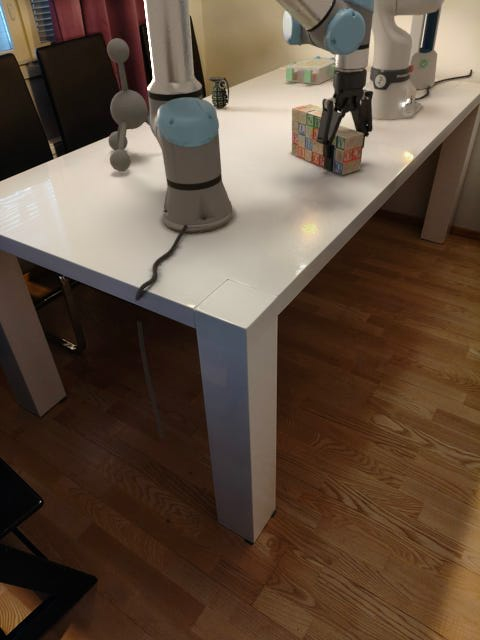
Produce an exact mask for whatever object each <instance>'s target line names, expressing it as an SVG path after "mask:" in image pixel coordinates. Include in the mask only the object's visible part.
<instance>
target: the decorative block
mask: <svg viewBox="0 0 480 640" xmlns="http://www.w3.org/2000/svg"><path fill="white" fill-rule="evenodd" d="M334 60H335V56H333V57H325V56H324V57H323V56H319V55H317V56H315V57H313V58H307V59H304V60H300V61H298V62H297V61H292V62H291V64H290V65H288V67H286V68H285V82H293V83H302V84H303V83H304V84H310V85H311V84H313V85H320V84H322V83H325V82H327V81H329V80H331V79H333V74H334V71H335V69H337V68H335V66H334Z"/></svg>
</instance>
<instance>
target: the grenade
mask: <svg viewBox="0 0 480 640" xmlns="http://www.w3.org/2000/svg"><path fill="white" fill-rule="evenodd" d="M208 81H209V82H212V83H214V85H213V86H212V88H211V90H212V91H211V104H212V105H213V106H214V108H215V109H216V110H217V109H218V110H223V109H225V108H226V107H227V105H228V104H229V102H230V101H229V100H230V85H229V82H228V79H227V78H226V76H211V77H209V79H208ZM226 89H227V90H226Z"/></svg>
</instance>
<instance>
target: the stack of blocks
mask: <svg viewBox="0 0 480 640" xmlns="http://www.w3.org/2000/svg"><path fill="white" fill-rule="evenodd" d="M322 111H323V107H320V106H317V105H315V104H311V103H309V104H304V105H301V106H296V107H293V108H291V154H292V155H294V156H296V157H298V158H300V159H303V160H305V161H308V162H310V163H313V164H316V165H318V166H320V167H322V168H324V157H323V144H321V143H318V142H317V135H318V130H319V125H320V120H321V115H322ZM363 137H364V133H361V132H358V131H356V129H352V128H349V127H346V126H343V125H339V128H338V130H337V133H336V135H335V138H334V140H333V143H332V144H333V145H335V149H334V164H333V171H332V172H334V173H336V174H338V175H340V176H343V175H347V174H351V173H353V172H357V171H359V170H360V169H361V163H360V161H361V162H362V158H361V153H362V154H363V148H362V145H363ZM328 140H329V138H328Z"/></svg>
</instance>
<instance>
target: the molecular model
mask: <svg viewBox="0 0 480 640" xmlns="http://www.w3.org/2000/svg"><path fill="white" fill-rule="evenodd" d="M106 52H107V55H108V57H109V59H110V60H111V61H112V62H114V63H115V64H117V68H118V73H119V79H120V85H121V89H122V90H120V91H118V92H117V93H116V94H115V95H114V96H113V97H112V99H111V102H110V115H111V117H112V119H113V120H114V122H115V123H116V124H117V125H118V127H117V131H113V132H111V133H110V134H109V136H108V138H107V139H108V145H109V147H110V148H111V149H112V150H113V152H111V154H110V156H109V163H110V166H111V167H112V169H114V170H115V171H117V172H126V171H128V169H129V168H130V167H131V164H132V158H131V156H130V154H129V153H128V152H127V151H126V148H127V147H128V137H127V130H134V129H138V128H140V127H141V126H143V124H144V123H146V124H147V125H148V126H149V127H150V124H149V116H148V113H149V110H148V104H147V102H146V101H145V99H144V97H143V96H142V95H141V94H140V93H139V92H137V91H134V90H132V89H129V86H128V81H127V73H126V69H125V62H126V61H127V60H128V59H129V56H130V48H129V45H128V43H127V42H126V41H125V40H124V39H122V38H119V37H118V38H117V37H115V38H112V39H111V40H109V42H108V44H107V46H106Z"/></svg>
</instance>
